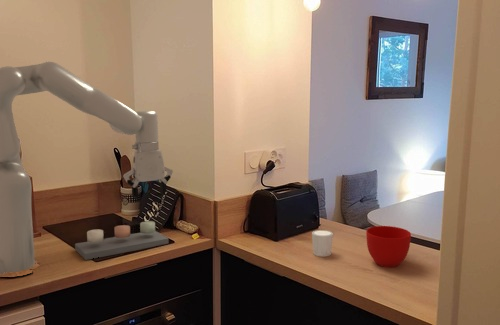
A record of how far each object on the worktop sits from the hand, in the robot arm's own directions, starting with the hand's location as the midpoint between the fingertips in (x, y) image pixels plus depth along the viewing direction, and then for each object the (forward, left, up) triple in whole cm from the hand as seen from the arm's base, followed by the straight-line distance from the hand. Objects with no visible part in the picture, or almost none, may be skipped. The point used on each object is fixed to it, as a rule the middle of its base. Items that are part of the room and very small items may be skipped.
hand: (149, 196), depth 158 cm
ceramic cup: (+53, -60, -16) cm, 82 cm away
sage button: (-1, 0, -12) cm, 12 cm away
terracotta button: (-10, 0, -12) cm, 16 cm away
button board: (-10, 0, -16) cm, 19 cm away
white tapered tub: (+41, -43, -16) cm, 62 cm away
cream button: (-19, 0, -12) cm, 23 cm away
